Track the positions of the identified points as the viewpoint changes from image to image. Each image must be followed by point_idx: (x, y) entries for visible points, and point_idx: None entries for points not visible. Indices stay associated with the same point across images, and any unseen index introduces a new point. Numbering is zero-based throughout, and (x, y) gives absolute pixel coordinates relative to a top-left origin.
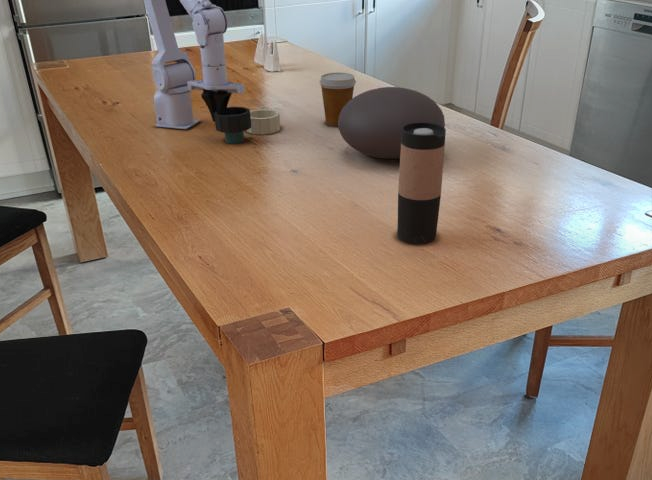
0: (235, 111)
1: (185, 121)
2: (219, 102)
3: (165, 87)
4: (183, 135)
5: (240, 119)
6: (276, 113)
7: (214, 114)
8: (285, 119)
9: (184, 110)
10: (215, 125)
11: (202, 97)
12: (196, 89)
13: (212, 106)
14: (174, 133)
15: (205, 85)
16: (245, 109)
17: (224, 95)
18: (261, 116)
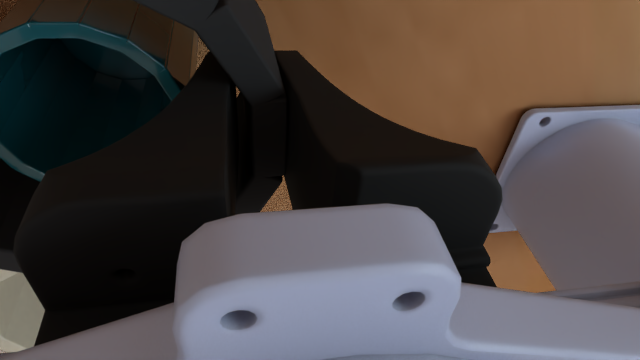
0: None
1: (547, 161)
2: (152, 142)
3: None
4: (528, 17)
5: None
6: (12, 344)
7: (224, 4)
8: None
9: (582, 206)
10: (254, 6)
11: (459, 147)
12: (601, 288)
13: (303, 127)
14: (590, 36)
15: (463, 345)
16: (2, 246)
17: (22, 254)
18: None
